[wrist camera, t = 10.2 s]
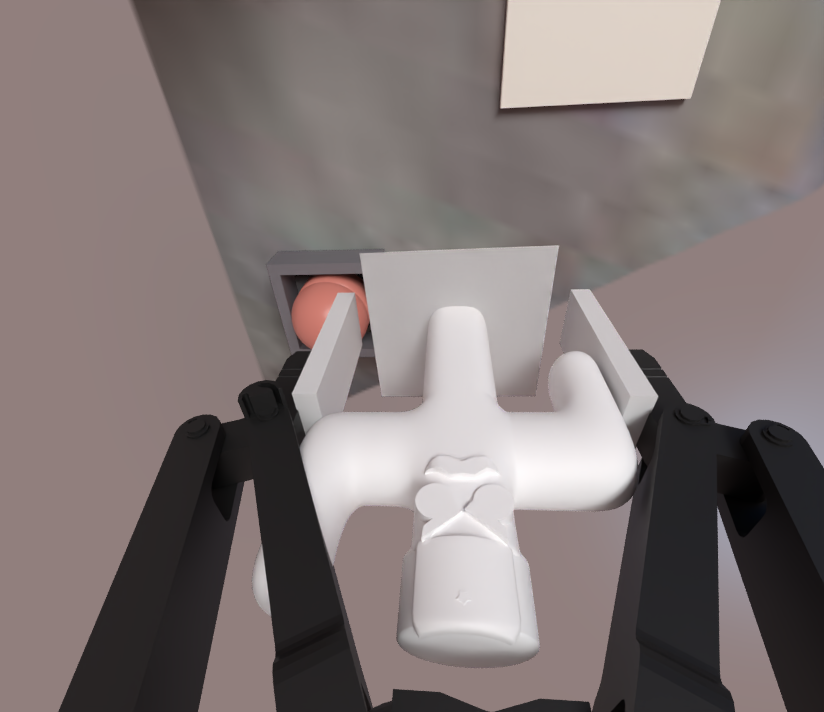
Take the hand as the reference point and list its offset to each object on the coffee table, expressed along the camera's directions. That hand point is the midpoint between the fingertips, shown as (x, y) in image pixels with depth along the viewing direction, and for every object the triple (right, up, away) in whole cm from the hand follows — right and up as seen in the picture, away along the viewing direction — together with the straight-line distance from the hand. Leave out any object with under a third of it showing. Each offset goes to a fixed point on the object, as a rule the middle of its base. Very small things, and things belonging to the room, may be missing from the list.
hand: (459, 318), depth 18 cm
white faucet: (0, +2, +2) cm, 3 cm away
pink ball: (-9, +5, +23) cm, 25 cm away
